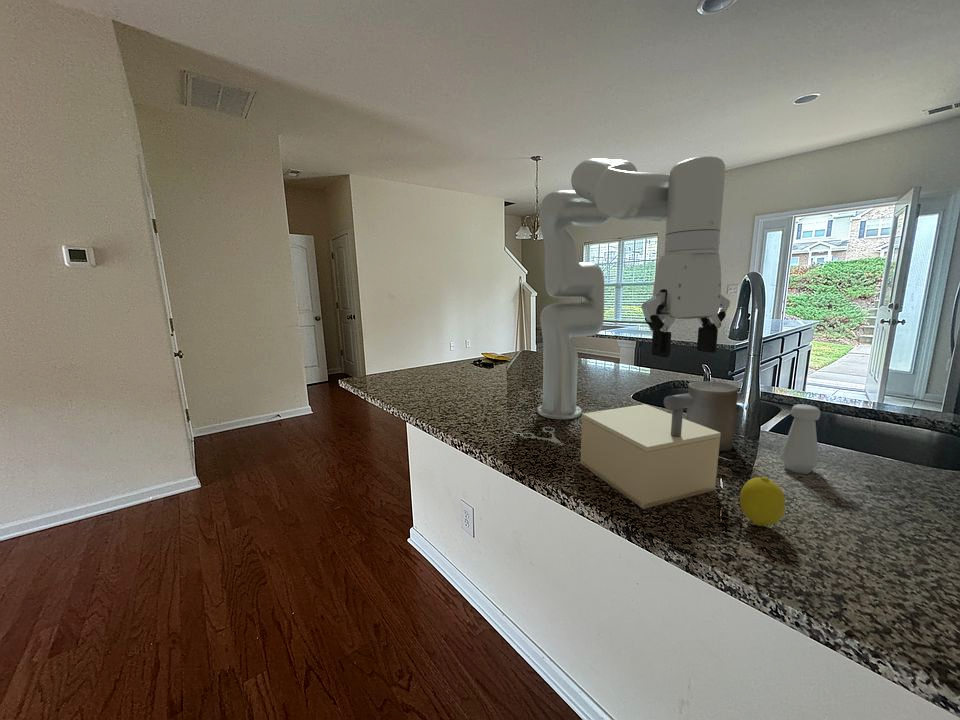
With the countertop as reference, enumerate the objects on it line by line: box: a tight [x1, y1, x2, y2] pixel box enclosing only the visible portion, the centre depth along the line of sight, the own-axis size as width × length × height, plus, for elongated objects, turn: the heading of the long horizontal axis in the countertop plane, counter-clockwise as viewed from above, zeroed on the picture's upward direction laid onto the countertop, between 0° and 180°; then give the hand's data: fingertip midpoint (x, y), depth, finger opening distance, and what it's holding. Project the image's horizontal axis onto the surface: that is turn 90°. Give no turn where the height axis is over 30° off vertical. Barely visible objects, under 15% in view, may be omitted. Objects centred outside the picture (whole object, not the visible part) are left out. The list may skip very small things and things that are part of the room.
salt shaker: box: [780, 403, 821, 475], centre depth 76 cm, size 6×6×13 cm
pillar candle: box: [685, 380, 739, 452], centre depth 89 cm, size 10×10×15 cm
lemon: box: [739, 476, 786, 527], centre depth 59 cm, size 6×6×8 cm
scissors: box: [512, 426, 581, 452], centre depth 93 cm, size 11×1×20 cm
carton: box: [580, 417, 720, 510], centre depth 74 cm, size 18×16×10 cm
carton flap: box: [581, 393, 721, 452], centre depth 73 cm, size 18×16×8 cm
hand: (683, 353), depth 64 cm, fingers open, 9 cm apart
